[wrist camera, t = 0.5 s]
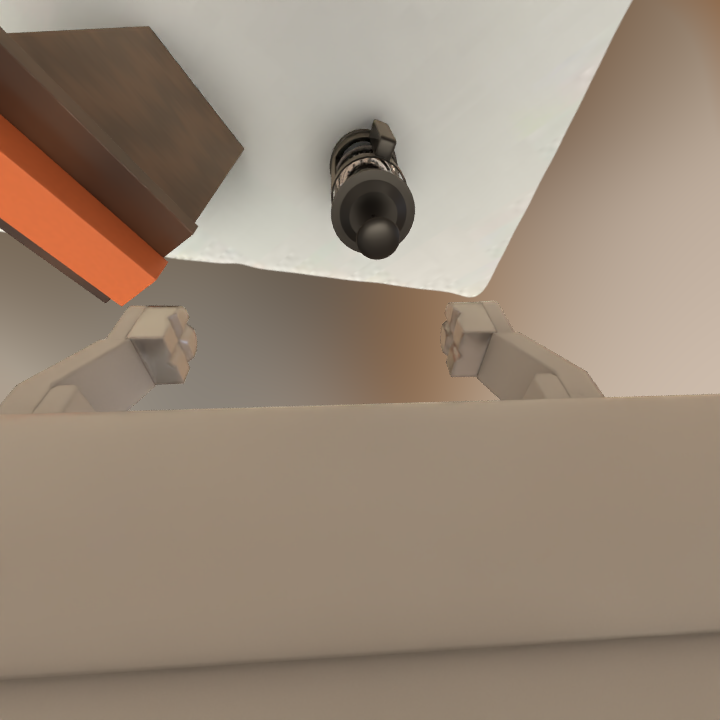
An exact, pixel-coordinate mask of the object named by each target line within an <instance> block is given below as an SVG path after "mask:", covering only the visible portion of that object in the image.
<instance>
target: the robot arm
mask: <svg viewBox="0 0 720 720" xmlns="http://www.w3.org/2000/svg"><path fill="white" fill-rule="evenodd" d="M445 316H446V318H447V321H446V322H444V323H443V324H442V328H441V336H440V341H441V348H442V351H443V353H445V354H446V355H447V361H446V363H447V366H448V369H449V372H450V375H451V377H477V379H478V380H480V381H481V382H482V383H483V384H484V385H485V386H486V387H487V388H488V389H489V390H490V391H491V392H493V393H494V394H495V395H496V396H497V397H498V398H499V399H500V400H494V401H463V402H462V401H461V402H425V403H391V404H355V405H354V404H353V405H323V406H322V405H320V406H287V407H251V408H215V409H182V410H181V409H179V410H145V411H128V410H129V409H130V408H131V407H132V406H134V405H135V404H136V403H137V402H138V401H139V400H140V399H141V398H143V397H144V396H145V395H146V394H147V393H148V392H149V391H151V389H153V388H154V387H155V385H161V384H181V383H184V382H185V379H186V376H187V374H188V372H189V369H190V366H189V364H188V362H189V361H190V360H192V359H193V358H194V357H195V354H196V351H197V338H196V334H195V331H194V329H193V328H192V327H191V326H189V325H188V324H187V321H188V319H189V315H188V313H187V311H186V308H184V307H183V306H131V307H128V308H127V309H126V311H125V312H124V314H123V315H122V317H121V318H120V319H119V321H118V322H117V324H116V325H115V326H114V328H113V329H112V331H111V332H110V334H109V335H108V336H107V338H106V339H105V340H99V341H97V342H95V343H93V344H91V345H89V346H88V347H86V348H84V349H82V350H80V351H78V352H76V353H75V354H73V355H71V356H69V357H67V358H65V359H64V360H62V361H60V362H58V363H56V364H55V365H53V366H51V367H49V368H47V369H45V370H43V371H41V372H40V373H38V374H36V375H34V376H32V377H30V378H29V379H27V380H25V381H23V382H21V383H19V384H18V385H16V386H15V388H14V389H13V390H12V391H11V392H10V393H9V395H8V396H7V397H6V398H5V399H4V401H3V402H2V403H1V404H0V720H720V394H702V395H670V396H669V395H668V396H638V397H637V396H634V397H604V395H603V394H602V392H601V391H600V390H599V388H598V387H597V385H596V384H595V383H594V381H593V380H592V378H591V377H590V376H589V374H588V372H587V371H585V370H583V369H582V368H580V367H578V366H576V365H575V364H573V363H571V362H569V361H568V360H566V359H564V358H563V357H561V356H559V355H558V354H556V353H554V352H553V351H551V350H549V349H547V348H546V347H544V346H542V345H540V344H539V343H537V342H535V341H534V340H532V339H530V338H529V337H527V336H525V335H523V334H522V333H520V332H515V331H514V330H513V328H512V326H511V324H510V323H509V321H508V319H507V318H506V316H505V314H504V312H503V311H502V309H501V307H500V306H499V304H498V303H497V302H496V301H485V302H465V303H464V302H461V303H448V305H447V307H446V311H445Z"/></svg>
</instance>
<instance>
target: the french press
mask: <svg viewBox="0 0 720 720" xmlns="http://www.w3.org/2000/svg"><path fill="white" fill-rule="evenodd" d="M360 141H368V142H370V143H371V146H360V147H357V148H354V149H352V150H350V151H349V152H348V153H346V154H345V155H344V156H343V157H342V155H343V153H344V151H345V150H346V149H347V148H348V147H349V146H351V145H352V144H354V143H356V142H360ZM395 145H396V139H395V137H394V135H393V134H392V132H391V130H390V128H389V126H388V124H386V123H384V122H381V121H378V120H374V121H373V124H372V128H371V130H369V129H359V130H355V131H352V132H350V133H348V134H346V135H345V136H344V137H343V138H341V140H340V141H339V142H338V143H337V144H336V146H335V148H334V150H333V152H332V155H331V160H330V174H331V202H332V208H331V220H332V224H333V228H334V230H335V232H336V234H337V236H338V237H339V239H340V240H341V241H342V242H343V243H344V244H345V245H346V246H347V247H349V248H351V249H352V250H354V251H357V252H360V253H362V254H363V255H364V256H366V257H368V258H370V259H375V260H377V259H384V258H386V257H388V256H390V255H391V254H392V253H394V251H395V250H396V249H397V247H398V245H399V243H400V242H401V241H403V239H404V238H405V237H406V236H407V234H408V233H409V231H410V229H411V227H412V224H413V221H414V215H415V204H414V200H413V196H412V193H411V191H410V190H409V188H408V186H407V184H406V180H405V178H404V176H403V174H402V172H401V170H400V168H399V167H398V165H397V159H396V155H395V152H394V148H395ZM341 157H342V159H341ZM340 159H341V160H340ZM398 171H399V172H398ZM399 173H400V174H401V176H402V178H403V180H402V179H401V178H399ZM334 190H335V197H334V199H333V191H334Z"/></svg>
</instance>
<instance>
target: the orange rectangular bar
mask: <svg viewBox="0 0 720 720" xmlns="http://www.w3.org/2000/svg"><path fill="white" fill-rule="evenodd" d="M0 218H1V219H2V220H4V221H5V222H7V223H8V224H9V225H11V226H12V227H13V228H15V229H16V230H18V231H19V232H20V233H22V234H23V235H24V236H26V237H27V238H29V239H30V240H31V241H33V242H34V243H35V244H37V245H38V246H39V247H41V248H42V249H44V250H45V251H46V252H48V253H49V254H50V255H52V256H53V257H55V258H56V259H57V260H59V261H60V262H61V263H63V264H64V265H66V266H67V267H68V268H70V269H71V270H72V271H74V272H75V273H76V274H78V275H79V276H81V277H82V278H83V279H85V280H86V281H87V282H89V283H90V284H92V285H93V286H94V287H96V288H97V289H98V290H100V291H101V292H103V293H104V294H105V295H107V296H108V297H109V298H111V299H112V300H114V301H115V302H116V303H118V304H119V305H120V306H123V305H124V304H126V303H127V302H128V301H130V300H131V299H132V298H134V297H135V296H136V295H137V294H139V293H140V292H141V291H143V290H144V289H145V288H147V287H148V286H149V285H151V284H152V283H153V282H154V281H156V280H157V278H158V277H159V275H160V274H161V272H162V270H163V269H164V268H165V266H166V265H167V263H168V261H166V260H165V259H164V258H163V257H162V256H161V255H160V254H158V253H157V252H156V251H155V250H154V249H153V248H152V247H151V246H149V245H148V244H147V243H146V242H145V241H144V240H143V239H141V238H140V237H139V236H138V235H137V234H136V233H135V232H133V231H132V230H131V229H130V228H129V227H128V226H127V225H126V224H124V223H123V222H122V221H121V220H120V219H119V218H118V217H116V216H115V215H114V214H113V213H112V212H111V211H110V210H109V209H107V208H106V207H105V206H104V205H103V204H102V203H101V202H99V201H98V200H97V199H96V198H95V197H94V196H93V195H92V194H90V193H89V192H88V191H87V190H86V189H85V188H84V187H82V186H81V185H80V184H79V183H78V182H77V181H76V180H74V179H73V178H72V177H71V176H70V175H69V174H68V173H67V172H65V171H64V170H63V169H62V168H61V167H60V166H59V165H57V164H56V163H55V162H54V161H53V160H52V159H51V158H50V157H48V156H47V155H46V154H45V153H44V152H43V151H42V150H40V149H39V148H38V147H37V146H36V145H35V144H34V143H32V142H31V141H30V140H29V139H28V138H27V137H26V136H25V135H23V134H22V133H21V132H20V131H19V130H18V129H17V128H15V127H14V126H13V125H12V124H11V123H10V122H9V121H8V120H6V119H5V118H4V117H3V116H2V115H1V114H0Z"/></svg>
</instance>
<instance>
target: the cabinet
mask: <svg viewBox="0 0 720 720" xmlns="http://www.w3.org/2000/svg"><path fill="white" fill-rule="evenodd" d="M0 114H1V115H2V116H3V117H4V118H5V119H6V120H8V121H9V122H10V123H11V124H12V125H13V126H14V127H15V128H17V129H18V130H19V131H20V132H21V133H22V134H23V135H25V136H26V137H27V138H28V139H29V140H30V141H31V142H32V143H34V144H35V145H36V146H37V147H38V148H39V149H40V150H42V151H43V152H44V153H45V154H46V155H47V156H48V157H50V158H51V159H52V160H53V161H54V162H55V163H56V164H57V165H59V166H60V167H61V168H62V169H63V170H64V171H65V172H67V173H68V174H69V175H70V176H71V177H72V178H73V179H74V180H76V181H77V182H78V183H79V184H80V185H81V186H82V187H84V188H85V189H86V190H87V191H88V192H89V193H90V194H92V195H93V196H94V197H95V198H96V199H97V200H98V201H99V202H101V203H102V204H103V205H104V206H105V207H106V208H107V209H109V210H110V211H111V212H112V213H113V214H114V215H115V216H116V217H118V218H119V219H120V220H121V221H122V222H123V223H124V224H126V225H127V226H128V227H129V228H130V229H131V230H132V231H133V232H135V233H136V234H137V235H138V236H139V237H140V238H141V239H143V240H144V241H145V242H146V243H147V244H148V245H149V246H151V247H152V248H153V249H154V250H155V251H156V252H157V253H158V254H160V255H161V256H162V257H163V258H164V257H165V256H166V255H167V254H169V253H170V252H171V251H172V250H174V249H175V248H176V247H178V246H179V245H180V244H181V243H183V242H184V241H185V240H186V239H188V238H189V237H190V236H191V235H193V234H194V232H195V231H196V229H197V228H198V226H197V225H196V224H195V222H196V220H197V219H198V217H199V216H200V214H201V213H202V211H203V210H204V208H205V207H206V205H207V204H208V202H209V201H210V199H211V198H212V196H213V195H214V193H215V192H216V190H217V189H218V187H219V186H220V184H221V183H222V181H223V180H224V179H225V177H226V176H227V174H228V173H229V171H230V170H231V168H232V167H233V165H234V164H235V162H236V161H237V159H238V158H239V156H240V155H241V153H242V152H243V150H244V148H243V147H242V146H241V144H240V143H239V142H238V140H237V139H236V138H235V137H234V135H233V134H232V133H231V131H230V130H229V129H228V128H227V126H226V125H225V124H224V122H223V121H222V120H221V119H220V117H219V116H218V115H217V113H216V112H215V111H214V110H213V108H212V107H211V106H210V104H209V103H208V102H207V101H206V99H205V98H204V97H203V95H202V94H201V93H200V91H199V90H198V89H197V88H196V86H195V85H194V84H193V82H192V81H191V80H190V79H189V77H188V76H187V75H186V73H185V72H184V71H183V70H182V68H181V67H180V66H179V64H178V63H177V62H176V61H175V59H174V58H173V57H172V55H171V54H170V53H169V52H168V50H167V49H166V48H165V46H164V45H163V44H162V43H161V41H160V40H159V39H158V37H157V36H156V35H155V33H154V32H153V31H152V30H151V28H150V27H149V26H144V27H123V28H103V29H83V30H63V31H42V32H22V33H6V32H5V31H4V30H3V29H2V28H1V27H0ZM0 228H1V229H2V230H4V231H5V232H6V233H8V234H9V235H11V236H12V237H14V238H15V239H16V240H18V241H19V242H20V243H22V244H23V245H25V246H26V247H27V248H29V249H30V250H32V251H33V252H34V253H36V254H37V255H39V256H40V257H41V258H43V259H44V260H46V261H47V262H48V263H50V264H51V265H53V266H54V267H55V268H57V269H58V270H60V271H61V272H63V273H64V274H65V275H67V276H68V277H69V278H71V279H72V280H74V281H75V282H77V283H78V284H79V285H81V286H82V287H83V288H85V289H86V290H88V291H89V292H91V293H92V294H93V295H95V296H96V297H97V298H99V299H100V300H102V301H103V302H105V303H106V302H108V301H109V300H110V299H111V298H109V297H108V296H107V295H105V294H104V293H103V292H101V291H100V290H98V289H97V288H96V287H94V286H93V285H92V284H90V283H89V282H87V281H86V280H85V279H83V278H82V277H81V276H79V275H78V274H76V273H75V272H74V271H72V270H71V269H70V268H68V267H67V266H66V265H64V264H63V263H61V262H60V261H59V260H57V259H56V258H55V257H53V256H52V255H50V254H49V253H48V252H46V251H45V250H44V249H42V248H41V247H39V246H38V245H37V244H35V243H34V242H33V241H31V240H30V239H29V238H27V237H26V236H24V235H23V234H22V233H20V232H19V231H18V230H16V229H15V228H13V227H12V226H11V225H9V224H8V223H7V222H5V221H4V220H2V219H1V218H0Z"/></svg>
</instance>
